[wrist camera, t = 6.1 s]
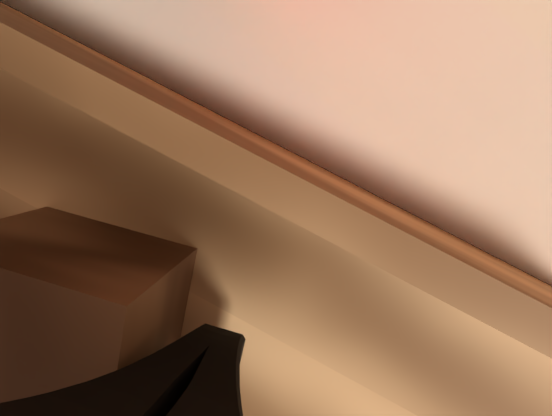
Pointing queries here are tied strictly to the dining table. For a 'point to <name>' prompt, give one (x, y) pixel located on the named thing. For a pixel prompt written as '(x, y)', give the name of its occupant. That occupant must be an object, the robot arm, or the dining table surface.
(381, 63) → the dining table surface
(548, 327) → the trap box
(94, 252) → the block
